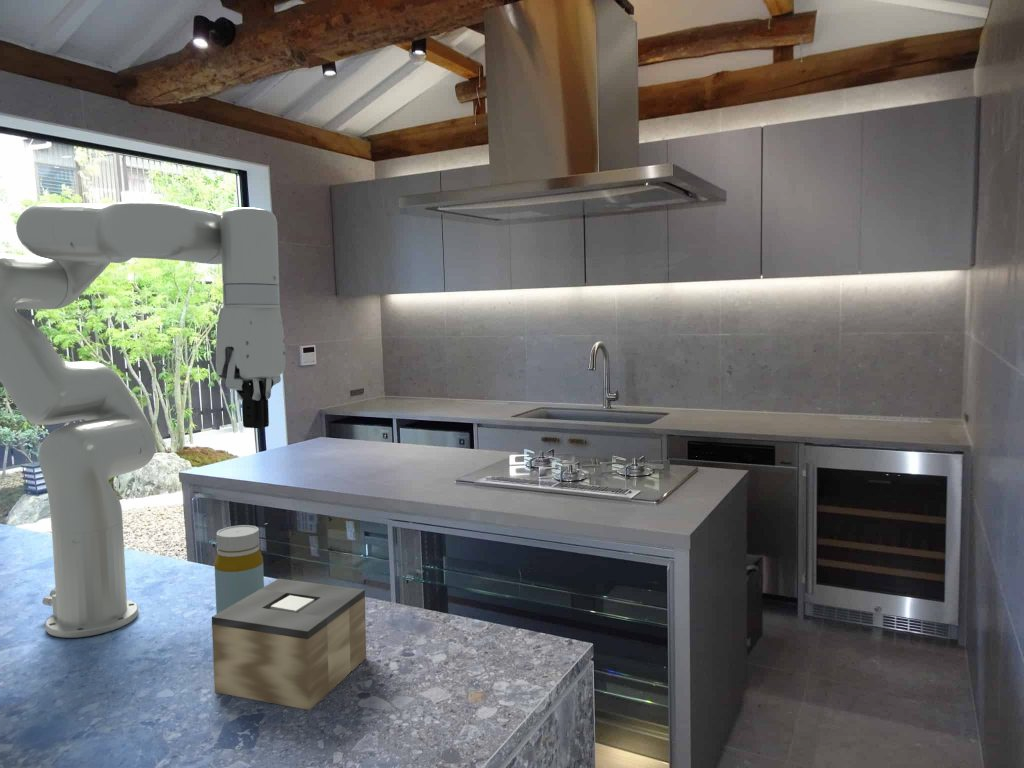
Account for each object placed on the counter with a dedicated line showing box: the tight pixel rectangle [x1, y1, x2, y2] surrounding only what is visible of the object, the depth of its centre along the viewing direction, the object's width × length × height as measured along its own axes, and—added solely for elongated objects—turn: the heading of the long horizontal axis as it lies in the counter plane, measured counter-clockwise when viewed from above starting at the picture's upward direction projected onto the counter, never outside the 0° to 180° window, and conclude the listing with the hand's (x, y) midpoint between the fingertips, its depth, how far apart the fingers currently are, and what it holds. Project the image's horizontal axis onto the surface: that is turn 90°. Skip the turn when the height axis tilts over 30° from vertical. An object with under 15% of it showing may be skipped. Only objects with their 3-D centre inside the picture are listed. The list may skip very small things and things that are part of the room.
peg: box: [270, 595, 314, 613], centre depth 96 cm, size 4×4×10 cm
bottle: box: [214, 524, 265, 614], centre depth 112 cm, size 7×7×15 cm
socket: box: [211, 578, 367, 711], centre depth 96 cm, size 14×14×10 cm
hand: (256, 426), depth 103 cm, fingers closed
